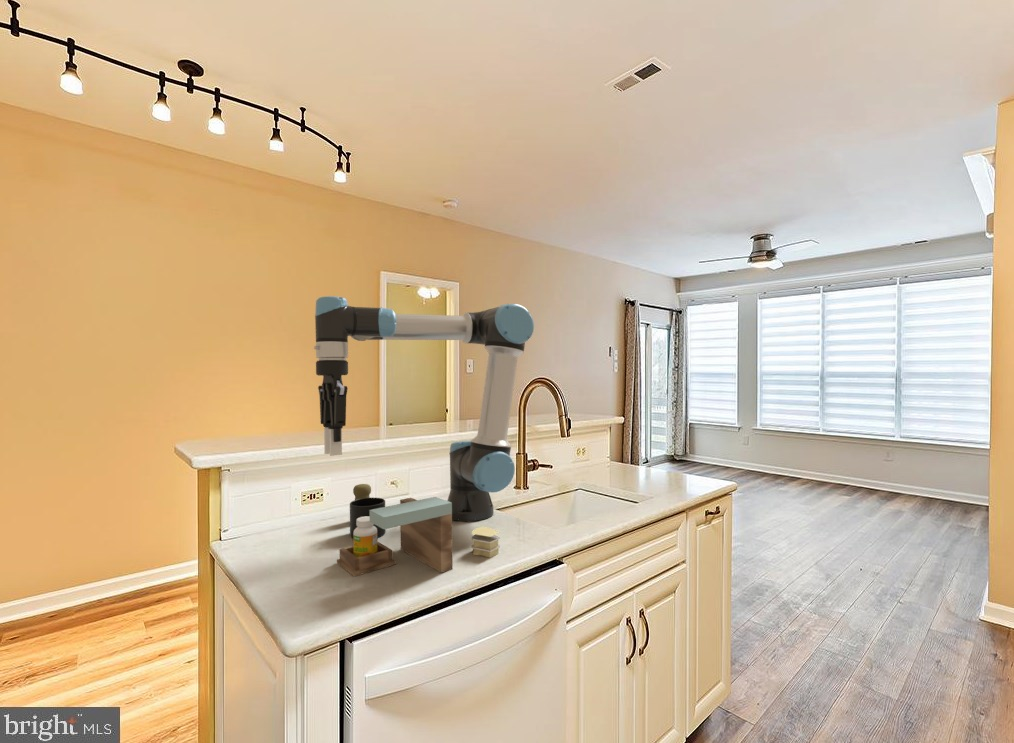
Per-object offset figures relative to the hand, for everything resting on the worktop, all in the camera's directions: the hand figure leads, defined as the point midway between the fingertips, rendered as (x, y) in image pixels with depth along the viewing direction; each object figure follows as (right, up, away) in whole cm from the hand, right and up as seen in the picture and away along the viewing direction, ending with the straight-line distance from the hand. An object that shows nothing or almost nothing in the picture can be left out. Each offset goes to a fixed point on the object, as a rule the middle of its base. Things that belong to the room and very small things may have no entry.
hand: (333, 453), depth 121 cm
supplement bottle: (+10, -24, -7) cm, 27 cm away
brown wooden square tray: (+10, -24, -7) cm, 27 cm away
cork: (0, -25, +26) cm, 36 cm away
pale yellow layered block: (+38, -25, -1) cm, 45 cm away
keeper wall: (+24, -24, -5) cm, 34 cm away
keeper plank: (+22, -12, -13) cm, 29 cm away
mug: (+6, -25, +12) cm, 28 cm away
